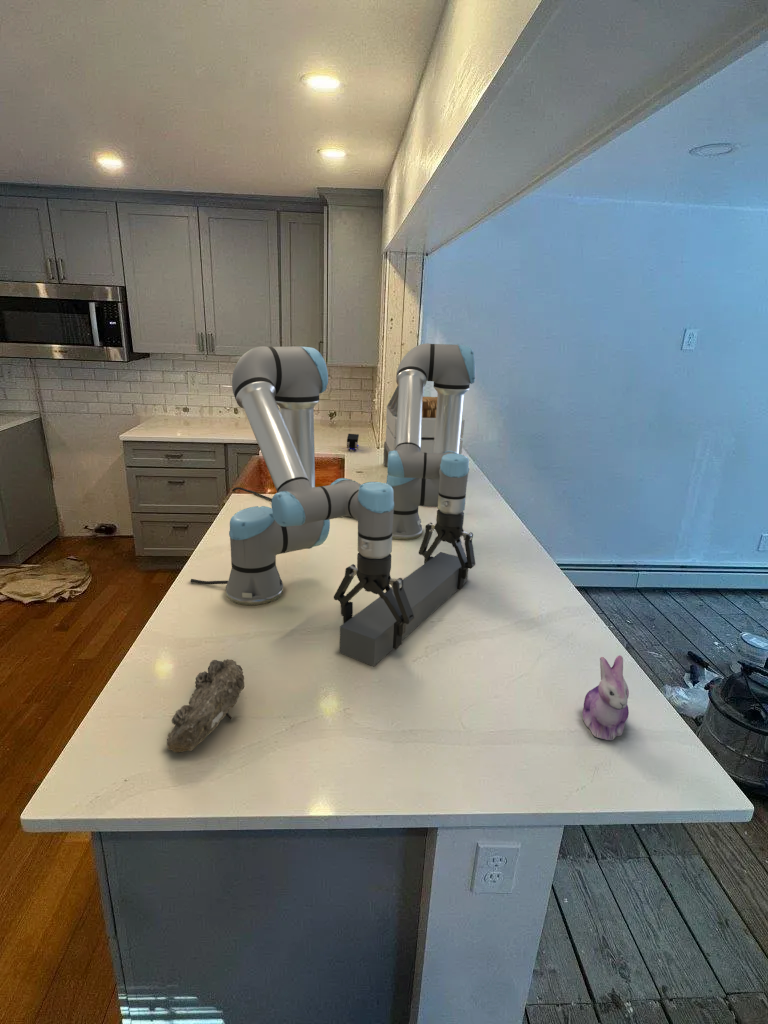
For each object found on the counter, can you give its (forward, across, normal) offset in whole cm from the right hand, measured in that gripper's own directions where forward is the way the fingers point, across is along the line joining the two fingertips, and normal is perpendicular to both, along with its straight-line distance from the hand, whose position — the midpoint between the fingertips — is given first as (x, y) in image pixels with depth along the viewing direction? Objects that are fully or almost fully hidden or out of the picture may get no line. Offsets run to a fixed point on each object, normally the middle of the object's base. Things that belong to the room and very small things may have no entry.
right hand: (444, 582), depth 164 cm
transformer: (0, -61, +100) cm, 117 cm away
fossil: (+1, -12, -77) cm, 78 cm away
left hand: (-2, 0, -40) cm, 40 cm away
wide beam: (0, 0, -20) cm, 20 cm away
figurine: (0, +52, -36) cm, 63 cm away
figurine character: (+1, -113, +118) cm, 164 cm away
